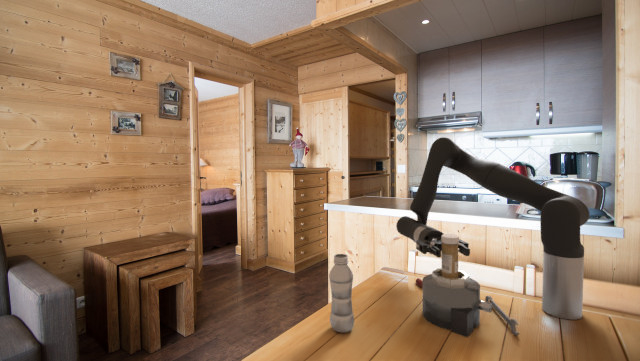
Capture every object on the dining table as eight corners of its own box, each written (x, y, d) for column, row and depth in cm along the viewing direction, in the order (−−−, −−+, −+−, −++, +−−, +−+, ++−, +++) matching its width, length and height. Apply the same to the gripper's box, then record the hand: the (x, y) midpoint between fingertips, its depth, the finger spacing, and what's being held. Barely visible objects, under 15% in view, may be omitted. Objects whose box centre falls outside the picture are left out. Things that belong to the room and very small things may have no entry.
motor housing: (436, 300, 101) (436, 261, 101) (499, 319, 89) (499, 275, 88) (412, 317, 91) (412, 274, 90) (479, 342, 78) (480, 292, 77)
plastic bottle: (338, 338, 81) (336, 261, 80) (325, 326, 87) (324, 254, 86) (359, 331, 84) (358, 257, 83) (345, 320, 90) (344, 251, 89)
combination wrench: (485, 292, 99) (514, 323, 80) (489, 292, 99) (520, 324, 79) (485, 304, 100) (514, 338, 80) (489, 304, 99) (520, 338, 80)
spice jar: (461, 284, 89) (462, 236, 88) (447, 286, 88) (447, 238, 87) (451, 278, 93) (452, 232, 92) (437, 279, 92) (438, 234, 91)
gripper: (407, 228, 103) (428, 240, 87) (450, 226, 104) (479, 238, 88) (407, 251, 104) (428, 267, 87) (450, 249, 105) (479, 265, 88)
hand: (454, 253), depth 88 cm, fingers open, 7 cm apart
